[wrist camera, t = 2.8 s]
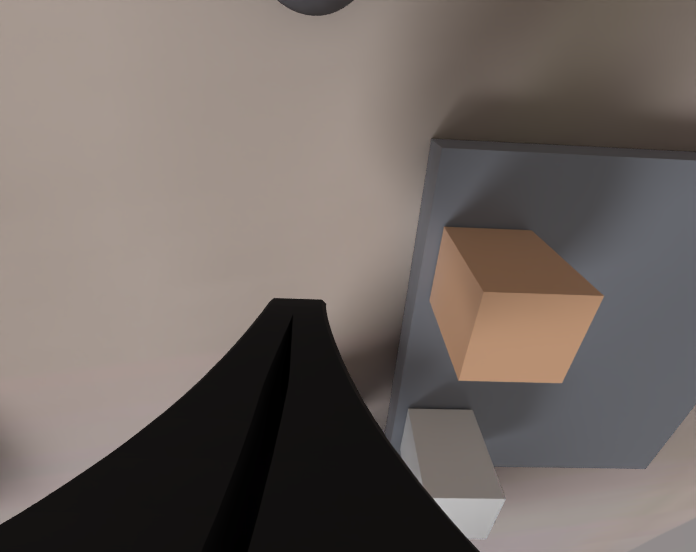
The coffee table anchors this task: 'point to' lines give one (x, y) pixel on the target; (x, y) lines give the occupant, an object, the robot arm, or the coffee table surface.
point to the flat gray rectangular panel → (597, 268)
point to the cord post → (315, 6)
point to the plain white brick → (454, 467)
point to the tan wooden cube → (509, 306)
